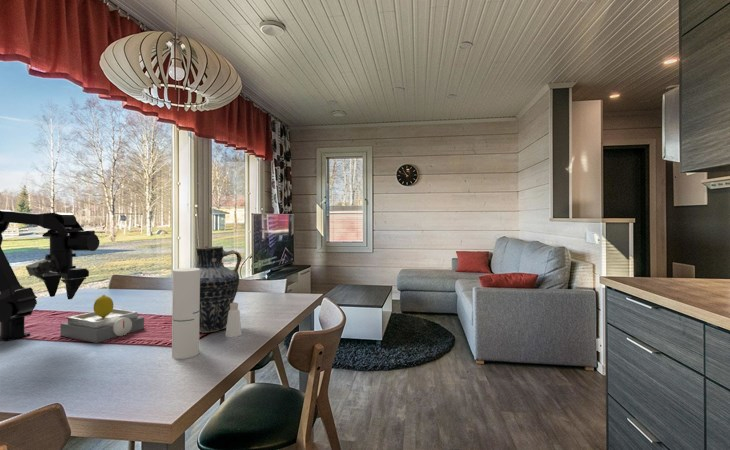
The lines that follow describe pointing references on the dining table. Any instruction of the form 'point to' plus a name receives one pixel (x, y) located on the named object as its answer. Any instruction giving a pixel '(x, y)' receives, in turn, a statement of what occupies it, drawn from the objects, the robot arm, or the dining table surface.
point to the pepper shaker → (233, 321)
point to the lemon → (103, 306)
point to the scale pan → (97, 321)
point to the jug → (216, 287)
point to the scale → (102, 330)
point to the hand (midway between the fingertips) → (61, 297)
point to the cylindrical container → (185, 312)
